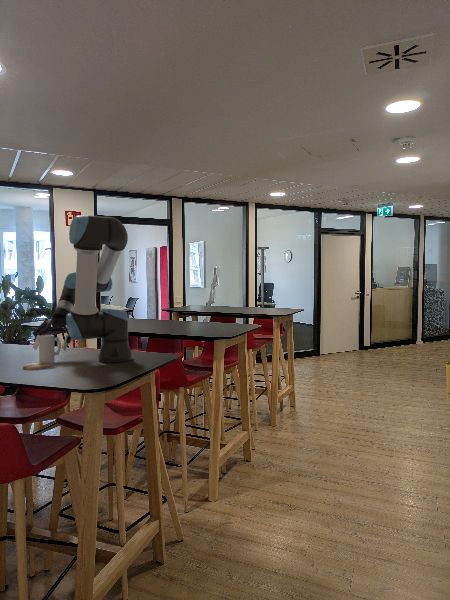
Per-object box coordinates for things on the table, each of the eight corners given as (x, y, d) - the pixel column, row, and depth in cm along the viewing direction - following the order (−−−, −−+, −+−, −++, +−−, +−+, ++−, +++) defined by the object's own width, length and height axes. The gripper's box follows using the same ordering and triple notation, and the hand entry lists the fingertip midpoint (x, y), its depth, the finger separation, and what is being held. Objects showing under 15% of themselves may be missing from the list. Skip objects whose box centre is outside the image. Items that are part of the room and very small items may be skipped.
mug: (42, 364, 201) (41, 337, 200) (36, 362, 205) (35, 335, 205) (64, 361, 208) (64, 335, 207) (58, 359, 213) (57, 333, 212)
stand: (56, 366, 197) (55, 364, 197) (32, 371, 188) (32, 368, 188) (40, 363, 203) (40, 361, 203) (17, 368, 194) (17, 365, 194)
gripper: (90, 317, 222) (78, 353, 208) (41, 316, 224) (25, 353, 210) (86, 307, 216) (73, 343, 202) (35, 306, 219) (19, 343, 205)
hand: (49, 348), depth 206 cm, fingers open, 13 cm apart
